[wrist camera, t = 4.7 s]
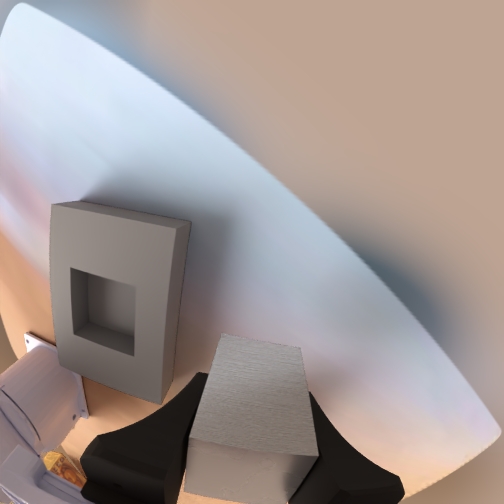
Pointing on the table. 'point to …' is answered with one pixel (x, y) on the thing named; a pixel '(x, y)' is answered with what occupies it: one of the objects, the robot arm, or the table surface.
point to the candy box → (63, 468)
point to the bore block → (117, 294)
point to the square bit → (252, 425)
